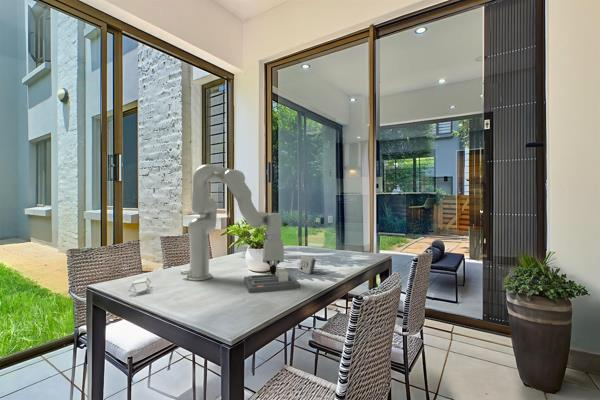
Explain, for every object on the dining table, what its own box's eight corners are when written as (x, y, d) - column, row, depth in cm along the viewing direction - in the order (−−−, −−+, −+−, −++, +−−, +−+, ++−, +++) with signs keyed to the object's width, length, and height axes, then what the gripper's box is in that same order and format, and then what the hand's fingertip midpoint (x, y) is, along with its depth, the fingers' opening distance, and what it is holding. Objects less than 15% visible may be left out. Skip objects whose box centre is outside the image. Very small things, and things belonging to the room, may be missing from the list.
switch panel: (248, 292, 138) (248, 286, 138) (244, 280, 157) (244, 274, 157) (300, 288, 145) (300, 282, 145) (289, 277, 164) (289, 271, 164)
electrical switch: (297, 271, 176) (299, 255, 177) (304, 270, 180) (305, 254, 180) (308, 274, 169) (310, 257, 170) (315, 274, 173) (317, 257, 173)
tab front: (279, 283, 146) (279, 273, 146) (278, 281, 149) (278, 272, 149) (288, 282, 147) (288, 273, 147) (286, 280, 150) (286, 271, 150)
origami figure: (147, 294, 135) (147, 283, 135) (127, 295, 134) (126, 284, 134) (157, 286, 147) (157, 276, 147) (138, 287, 146) (138, 276, 146)
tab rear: (277, 278, 155) (277, 269, 154) (276, 276, 158) (276, 267, 158) (285, 277, 156) (285, 268, 156) (283, 275, 159) (283, 267, 159)
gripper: (259, 238, 149) (259, 276, 150) (289, 238, 154) (289, 274, 154) (257, 236, 157) (257, 272, 157) (286, 236, 161) (285, 271, 161)
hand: (272, 273), depth 156 cm, fingers closed
